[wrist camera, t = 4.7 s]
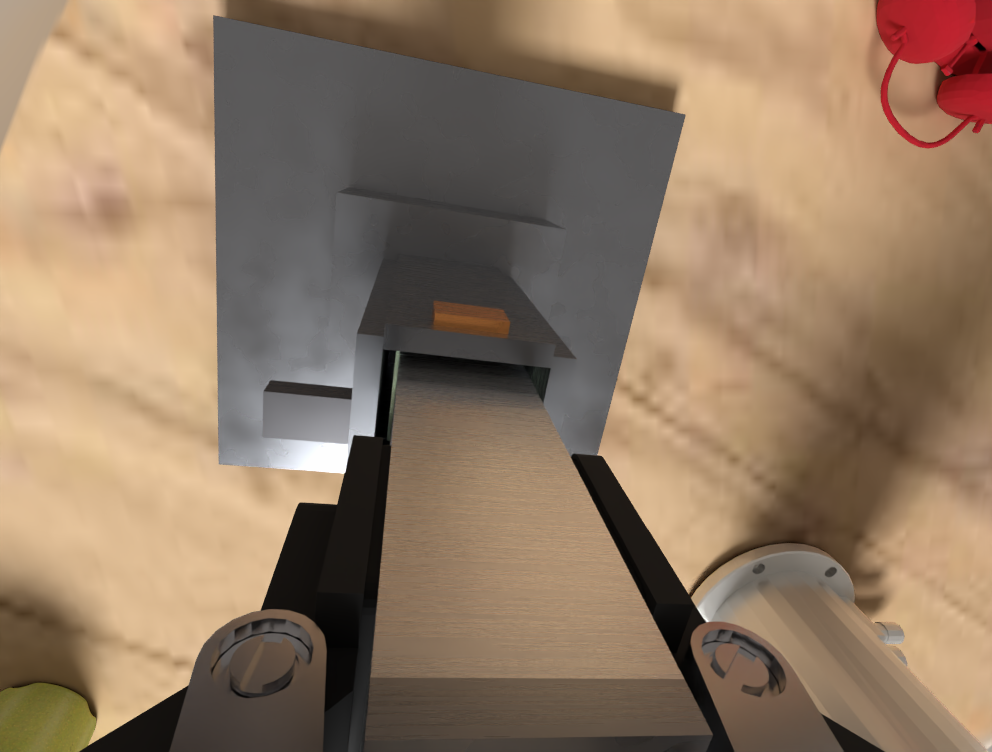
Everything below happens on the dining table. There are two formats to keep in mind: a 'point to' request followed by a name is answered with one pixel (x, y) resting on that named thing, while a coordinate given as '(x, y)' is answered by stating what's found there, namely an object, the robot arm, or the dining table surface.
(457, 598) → the steel post
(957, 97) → the alarm clock
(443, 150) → the charcoal stand
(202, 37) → the dining table surface
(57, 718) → the plant pot
